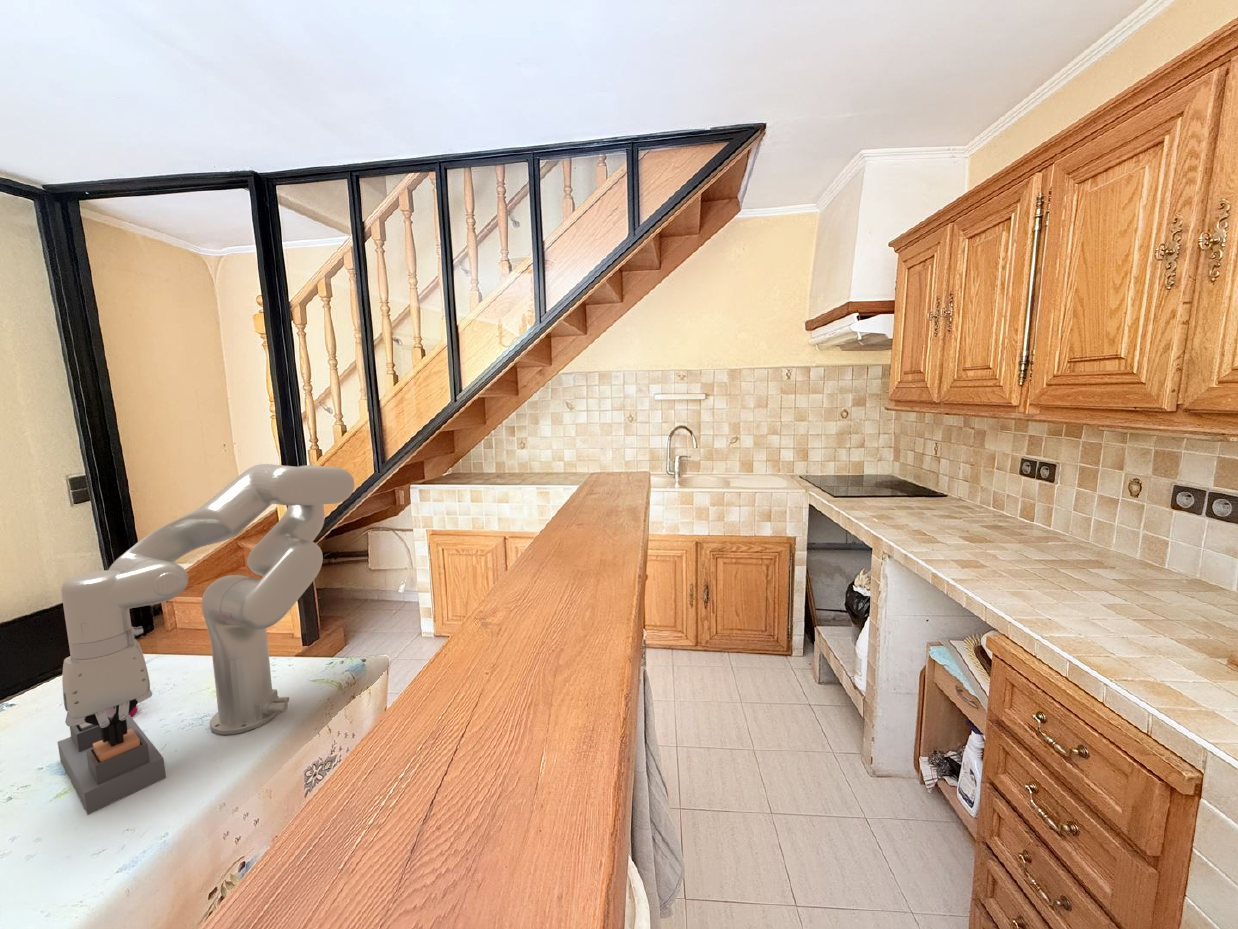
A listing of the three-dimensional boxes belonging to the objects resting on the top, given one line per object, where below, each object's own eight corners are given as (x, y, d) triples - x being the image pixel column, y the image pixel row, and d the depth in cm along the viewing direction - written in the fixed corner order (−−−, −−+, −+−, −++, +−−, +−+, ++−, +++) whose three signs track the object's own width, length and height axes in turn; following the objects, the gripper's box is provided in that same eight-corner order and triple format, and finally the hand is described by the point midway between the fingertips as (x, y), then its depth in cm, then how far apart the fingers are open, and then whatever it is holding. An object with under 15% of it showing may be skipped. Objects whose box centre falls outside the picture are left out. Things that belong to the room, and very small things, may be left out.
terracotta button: (141, 754, 89) (139, 738, 89) (101, 771, 85) (99, 755, 85) (133, 743, 92) (131, 728, 92) (94, 759, 88) (92, 743, 88)
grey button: (120, 728, 97) (118, 714, 97) (83, 743, 93) (81, 728, 93) (113, 719, 100) (111, 705, 100) (77, 733, 96) (75, 718, 96)
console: (166, 777, 91) (161, 740, 90) (87, 815, 83) (81, 774, 82) (131, 732, 104) (127, 699, 103) (60, 761, 95) (54, 724, 94)
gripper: (153, 622, 94) (164, 712, 97) (32, 655, 82) (48, 758, 84) (165, 633, 90) (177, 727, 92) (40, 669, 78) (57, 776, 80)
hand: (115, 741), depth 88 cm, fingers closed
